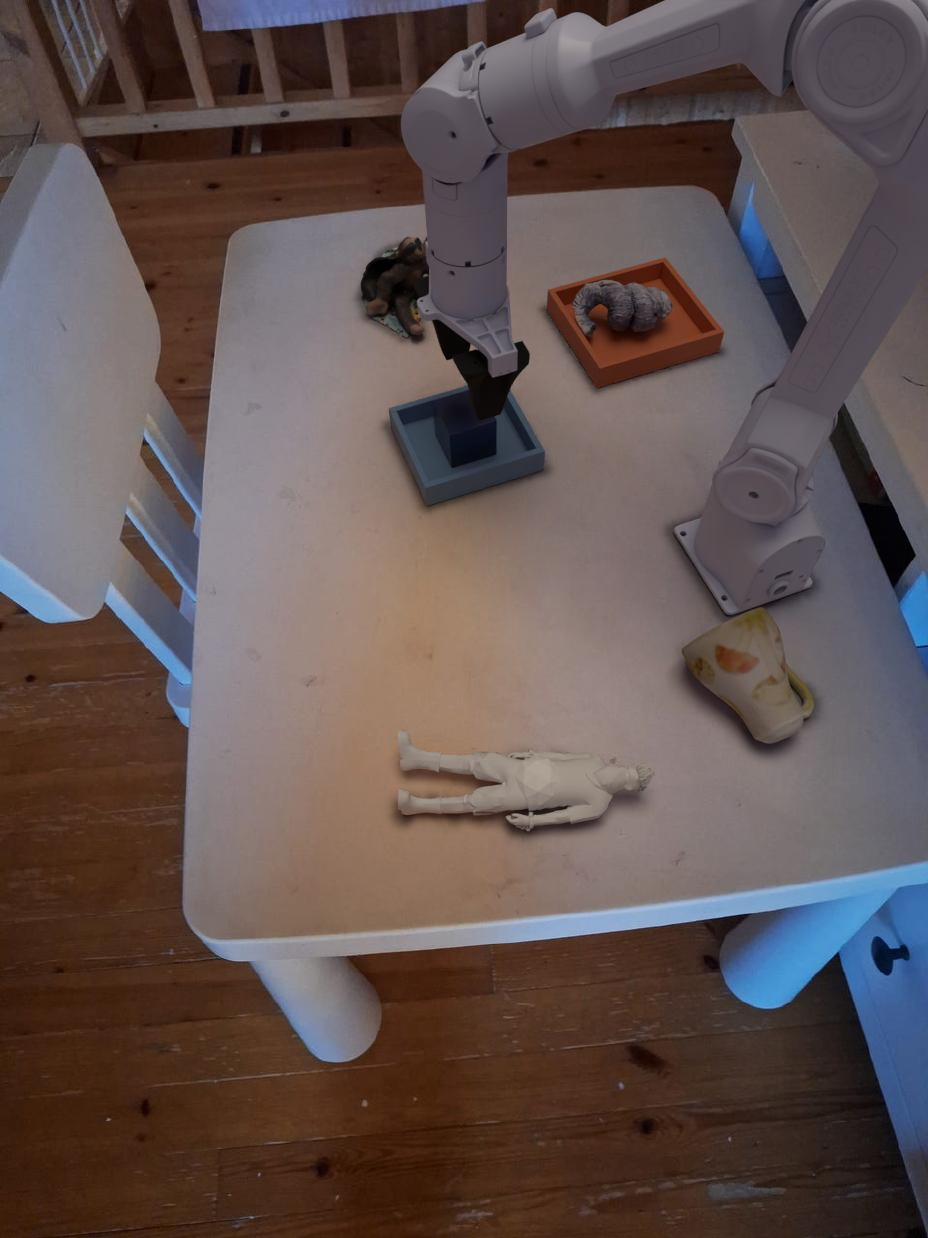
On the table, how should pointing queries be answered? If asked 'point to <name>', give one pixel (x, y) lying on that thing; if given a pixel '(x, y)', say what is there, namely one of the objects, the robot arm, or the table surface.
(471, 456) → the blue block
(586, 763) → the figurine
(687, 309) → the terracotta tray
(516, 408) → the blue tray
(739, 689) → the mug
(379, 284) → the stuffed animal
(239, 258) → the table surface
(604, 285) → the grey curved piece
